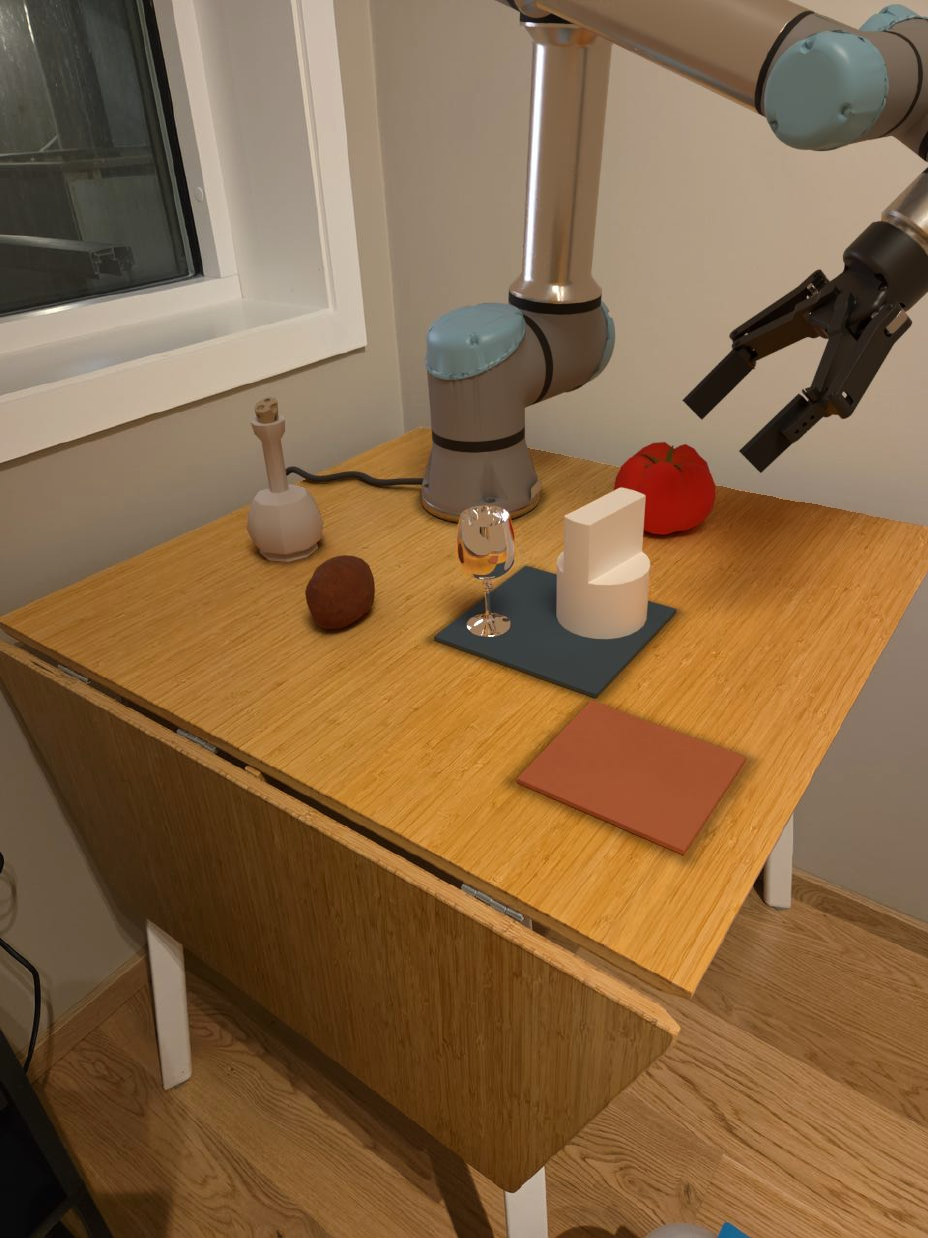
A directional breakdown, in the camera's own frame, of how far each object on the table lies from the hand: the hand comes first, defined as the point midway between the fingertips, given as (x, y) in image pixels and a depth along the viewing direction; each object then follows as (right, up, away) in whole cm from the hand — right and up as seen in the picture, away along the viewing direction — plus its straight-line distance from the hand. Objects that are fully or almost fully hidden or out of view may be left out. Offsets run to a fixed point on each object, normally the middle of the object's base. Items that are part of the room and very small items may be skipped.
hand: (718, 434), depth 83 cm
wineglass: (-21, -18, +8) cm, 28 cm away
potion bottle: (-44, -9, +25) cm, 52 cm away
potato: (-36, -17, +12) cm, 41 cm away
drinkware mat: (-14, -18, +8) cm, 24 cm away
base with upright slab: (-9, -17, +8) cm, 21 cm away
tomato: (+1, -6, +26) cm, 27 cm away
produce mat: (-10, -29, -11) cm, 33 cm away
